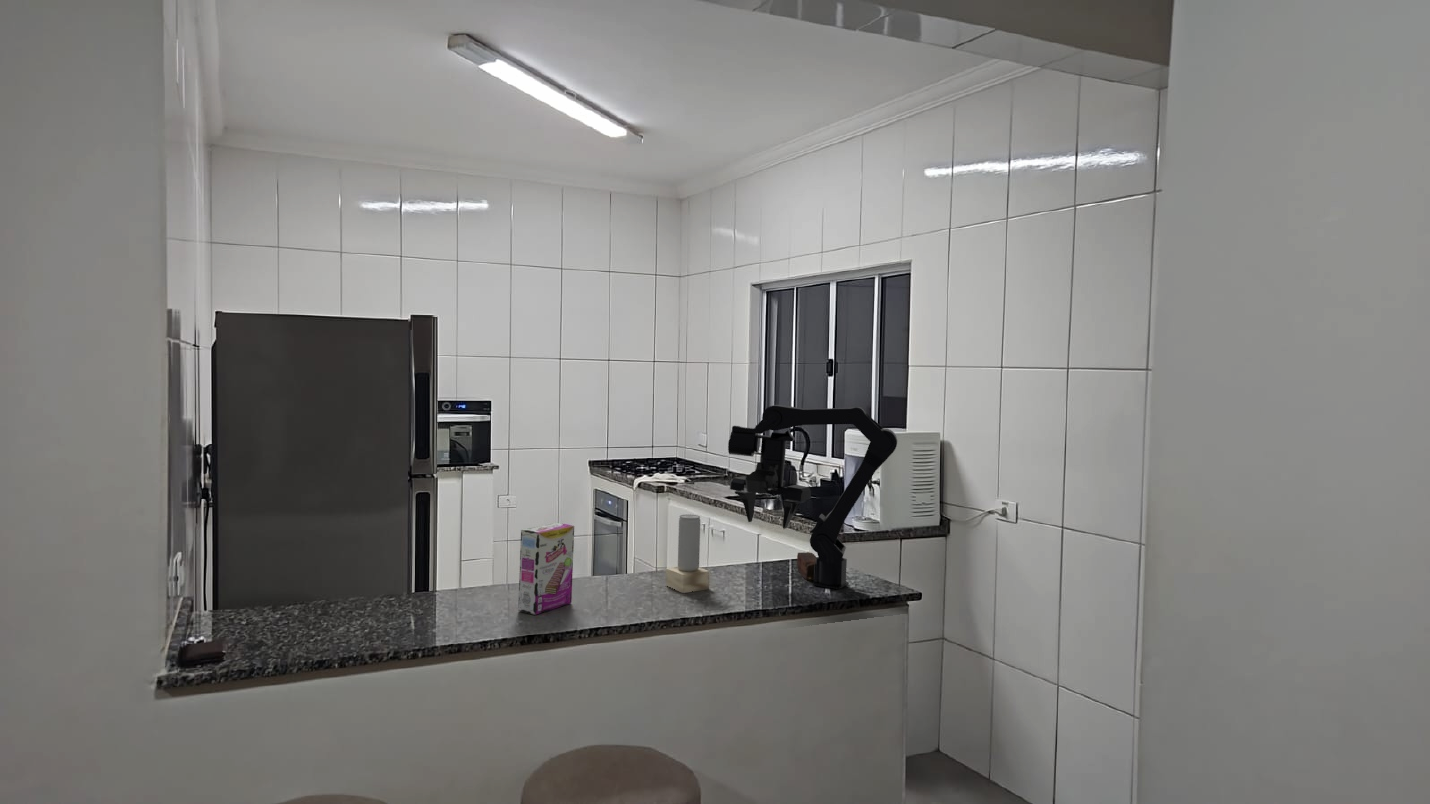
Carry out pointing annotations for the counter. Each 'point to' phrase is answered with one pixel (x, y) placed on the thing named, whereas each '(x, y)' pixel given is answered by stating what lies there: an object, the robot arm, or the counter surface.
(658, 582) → the counter surface
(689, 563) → the beverage can
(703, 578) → the maple block
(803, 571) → the brick
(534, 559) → the candy bar box
